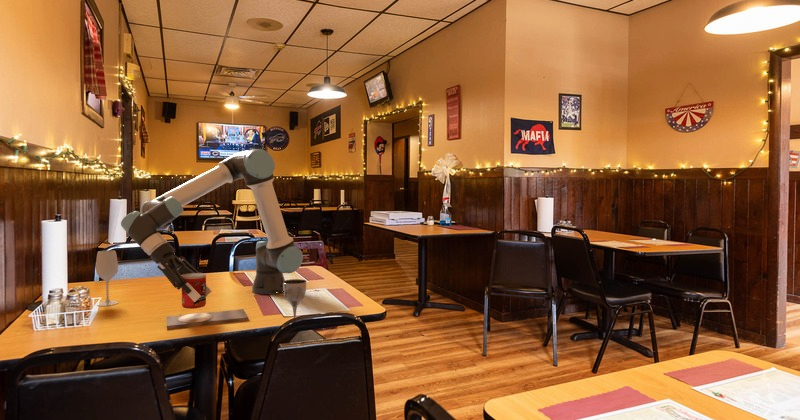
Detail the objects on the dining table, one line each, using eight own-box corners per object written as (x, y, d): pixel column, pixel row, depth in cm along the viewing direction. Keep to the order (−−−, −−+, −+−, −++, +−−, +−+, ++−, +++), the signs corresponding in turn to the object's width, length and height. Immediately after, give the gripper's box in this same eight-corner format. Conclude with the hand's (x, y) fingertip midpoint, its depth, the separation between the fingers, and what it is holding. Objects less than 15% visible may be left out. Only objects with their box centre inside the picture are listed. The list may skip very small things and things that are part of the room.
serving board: (243, 312, 179) (243, 308, 179) (248, 320, 169) (248, 316, 169) (166, 320, 168) (166, 315, 168) (166, 329, 157) (166, 325, 157)
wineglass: (123, 302, 190) (122, 251, 189) (104, 307, 184) (103, 253, 182) (110, 300, 194) (109, 249, 192) (91, 304, 187) (90, 251, 186)
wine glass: (310, 322, 168) (310, 280, 167) (298, 328, 160) (298, 284, 160) (290, 319, 171) (291, 278, 170) (278, 325, 163) (278, 282, 162)
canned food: (197, 309, 161) (197, 277, 161) (176, 308, 163) (176, 276, 162) (210, 304, 169) (210, 273, 168) (190, 302, 171) (190, 272, 170)
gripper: (167, 252, 176) (209, 296, 176) (133, 261, 156) (180, 311, 156) (181, 238, 176) (223, 283, 176) (148, 245, 155) (196, 295, 155)
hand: (203, 296), depth 166 cm, fingers closed on canned food, 8 cm apart
